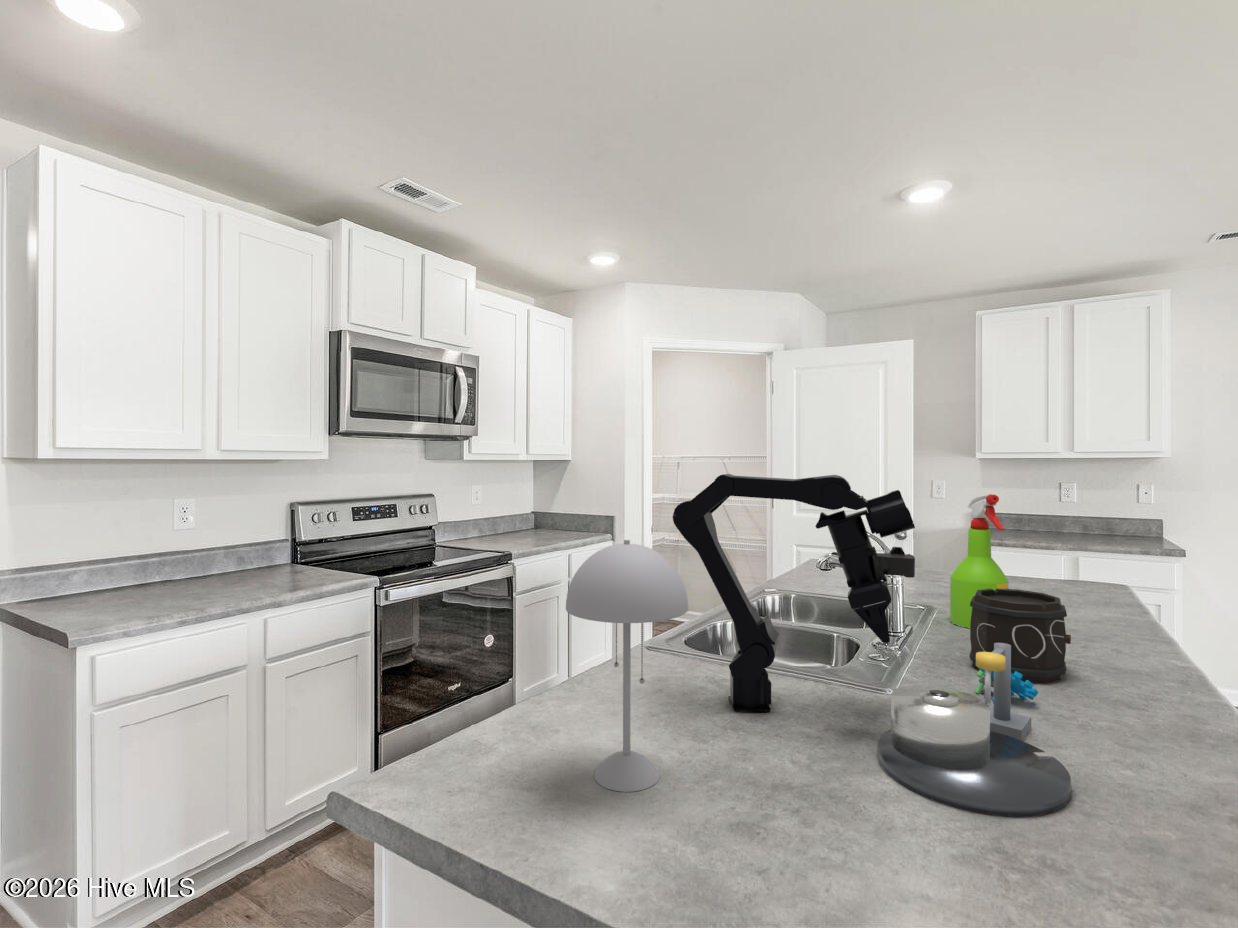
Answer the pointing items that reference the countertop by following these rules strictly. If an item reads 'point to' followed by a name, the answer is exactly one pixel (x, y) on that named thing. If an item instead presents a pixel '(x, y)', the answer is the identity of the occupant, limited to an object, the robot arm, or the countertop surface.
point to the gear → (1016, 685)
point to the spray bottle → (976, 562)
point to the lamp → (626, 631)
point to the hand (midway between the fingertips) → (885, 635)
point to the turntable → (987, 779)
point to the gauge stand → (1002, 692)
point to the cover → (940, 726)
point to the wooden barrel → (1021, 631)
